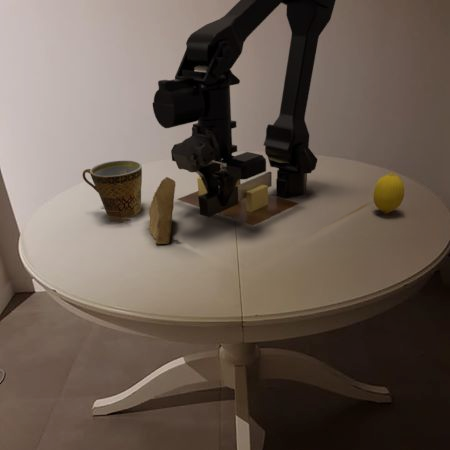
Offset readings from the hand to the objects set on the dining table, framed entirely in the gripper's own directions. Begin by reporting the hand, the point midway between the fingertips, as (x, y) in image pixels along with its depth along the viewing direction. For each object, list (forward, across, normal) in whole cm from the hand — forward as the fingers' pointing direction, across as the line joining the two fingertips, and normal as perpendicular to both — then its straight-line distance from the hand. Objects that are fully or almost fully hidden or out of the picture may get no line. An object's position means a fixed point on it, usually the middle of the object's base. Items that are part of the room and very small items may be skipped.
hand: (219, 204), depth 88 cm
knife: (+1, 0, +5) cm, 6 cm away
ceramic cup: (+5, -21, -9) cm, 23 cm away
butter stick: (+4, -10, +10) cm, 14 cm away
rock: (+5, -7, -9) cm, 13 cm away
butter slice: (+4, +1, +10) cm, 10 cm away
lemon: (+5, +21, +25) cm, 33 cm away
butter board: (+5, -5, +10) cm, 12 cm away
